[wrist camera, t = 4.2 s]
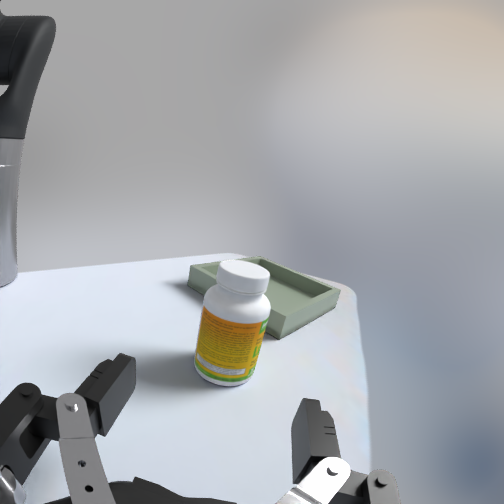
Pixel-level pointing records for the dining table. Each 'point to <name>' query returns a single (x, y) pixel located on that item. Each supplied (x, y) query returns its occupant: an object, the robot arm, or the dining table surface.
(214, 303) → the supplement bottle
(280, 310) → the tray
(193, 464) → the dining table surface
